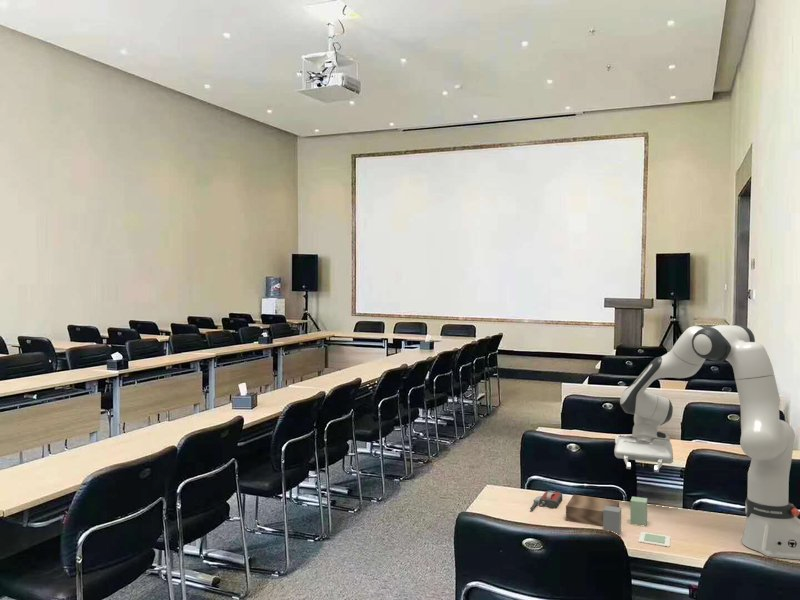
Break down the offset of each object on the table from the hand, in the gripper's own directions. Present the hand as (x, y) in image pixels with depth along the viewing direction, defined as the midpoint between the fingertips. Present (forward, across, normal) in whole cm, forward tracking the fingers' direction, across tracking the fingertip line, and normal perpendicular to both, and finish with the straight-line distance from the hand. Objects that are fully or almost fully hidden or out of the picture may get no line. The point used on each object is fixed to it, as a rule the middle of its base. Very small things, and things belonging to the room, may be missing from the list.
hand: (642, 469), depth 228 cm
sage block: (+20, 0, +2) cm, 20 cm away
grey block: (+29, -7, -8) cm, 31 cm away
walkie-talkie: (+17, -33, +6) cm, 37 cm away
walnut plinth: (+21, -15, 0) cm, 26 cm away
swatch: (+29, +6, -8) cm, 31 cm away
